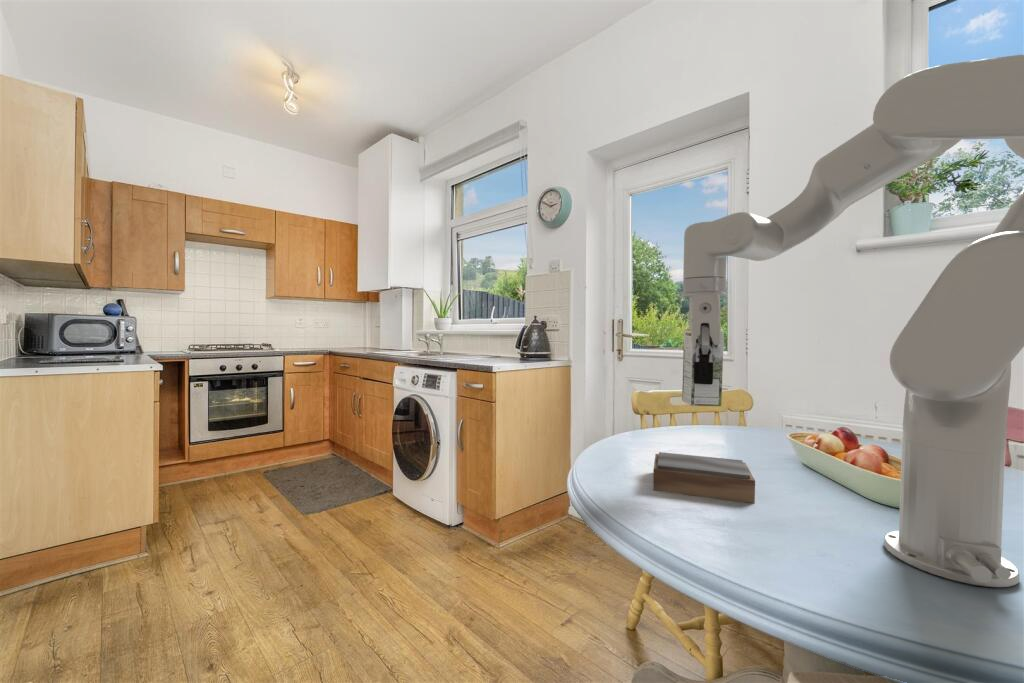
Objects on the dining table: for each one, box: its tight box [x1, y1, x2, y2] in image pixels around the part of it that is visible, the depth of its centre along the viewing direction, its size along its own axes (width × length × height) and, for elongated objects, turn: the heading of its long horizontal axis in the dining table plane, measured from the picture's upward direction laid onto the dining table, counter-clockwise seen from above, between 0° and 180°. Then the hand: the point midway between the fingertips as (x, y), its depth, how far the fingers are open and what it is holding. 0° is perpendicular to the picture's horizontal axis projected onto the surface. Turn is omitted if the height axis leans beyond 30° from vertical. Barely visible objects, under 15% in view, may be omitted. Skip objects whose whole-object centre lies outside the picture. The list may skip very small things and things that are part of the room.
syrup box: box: [681, 328, 725, 407], centre depth 84 cm, size 6×6×14 cm
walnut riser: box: [652, 451, 756, 504], centre depth 84 cm, size 11×17×5 cm, turn 70°
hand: (701, 380), depth 84 cm, fingers closed on syrup box, 6 cm apart
